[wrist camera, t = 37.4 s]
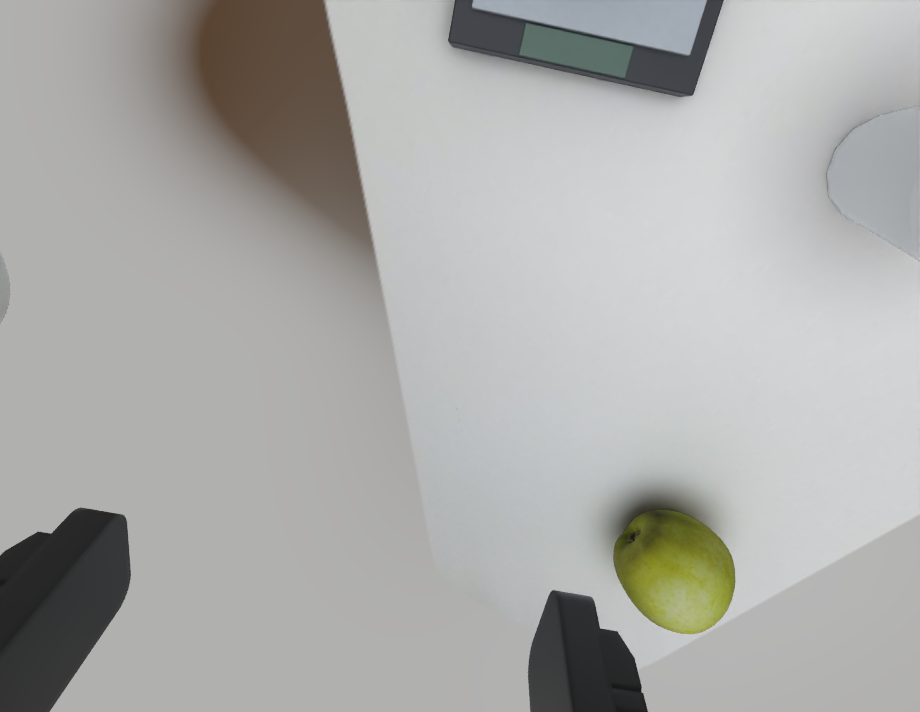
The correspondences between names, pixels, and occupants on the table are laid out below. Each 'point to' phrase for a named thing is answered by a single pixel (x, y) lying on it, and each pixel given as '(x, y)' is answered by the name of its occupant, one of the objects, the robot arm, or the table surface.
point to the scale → (595, 37)
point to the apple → (675, 571)
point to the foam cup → (881, 178)
